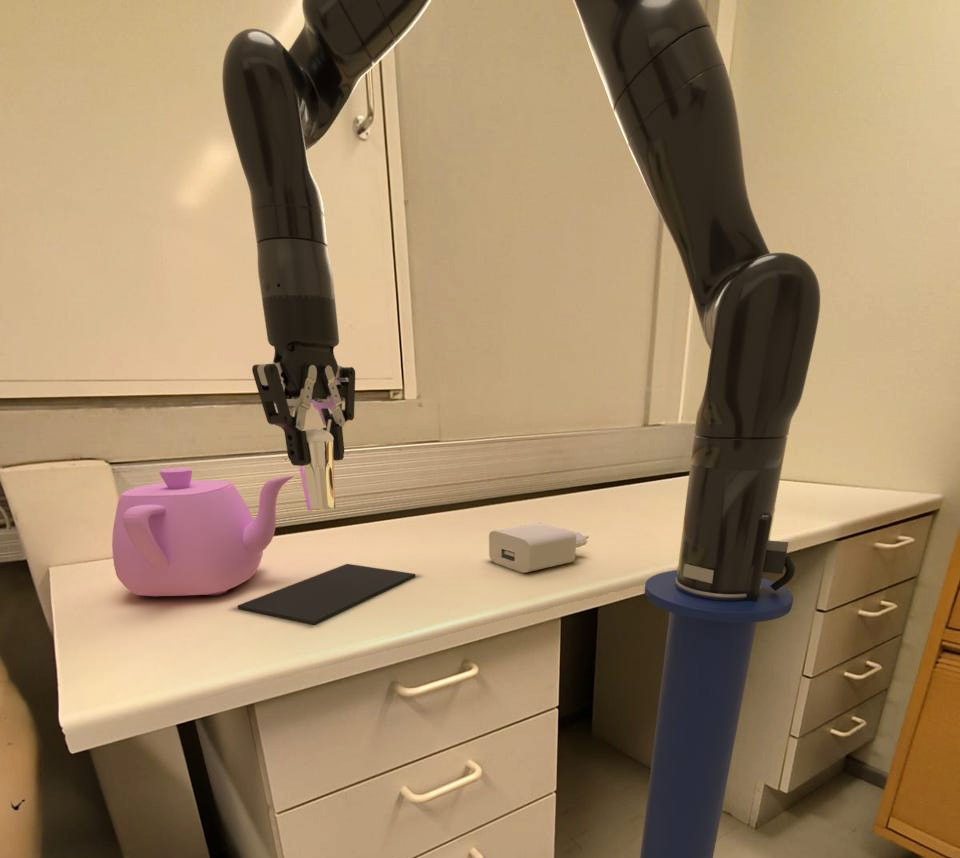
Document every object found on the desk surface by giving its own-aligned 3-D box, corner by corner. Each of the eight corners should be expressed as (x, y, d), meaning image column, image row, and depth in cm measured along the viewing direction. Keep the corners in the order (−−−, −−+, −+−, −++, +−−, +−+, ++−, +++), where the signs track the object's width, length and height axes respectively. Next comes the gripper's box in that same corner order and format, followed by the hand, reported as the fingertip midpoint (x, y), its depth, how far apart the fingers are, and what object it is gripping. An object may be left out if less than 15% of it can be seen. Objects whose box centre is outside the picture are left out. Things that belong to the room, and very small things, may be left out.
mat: (415, 576, 80) (415, 573, 80) (314, 624, 64) (313, 621, 64) (347, 566, 85) (347, 563, 85) (237, 608, 69) (237, 605, 69)
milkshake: (353, 506, 72) (344, 419, 68) (322, 513, 67) (310, 421, 64) (326, 503, 74) (316, 419, 70) (294, 510, 70) (281, 421, 66)
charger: (605, 557, 88) (528, 575, 80) (563, 545, 95) (488, 560, 87) (607, 526, 86) (529, 541, 78) (564, 516, 93) (488, 529, 85)
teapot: (81, 618, 67) (40, 484, 61) (168, 567, 86) (143, 461, 80) (280, 614, 67) (258, 480, 61) (322, 564, 87) (309, 458, 81)
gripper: (273, 284, 54) (298, 471, 61) (369, 301, 66) (381, 457, 73) (218, 291, 58) (247, 468, 64) (318, 306, 69) (334, 455, 76)
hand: (318, 461), depth 68 cm, fingers closed on milkshake, 5 cm apart
